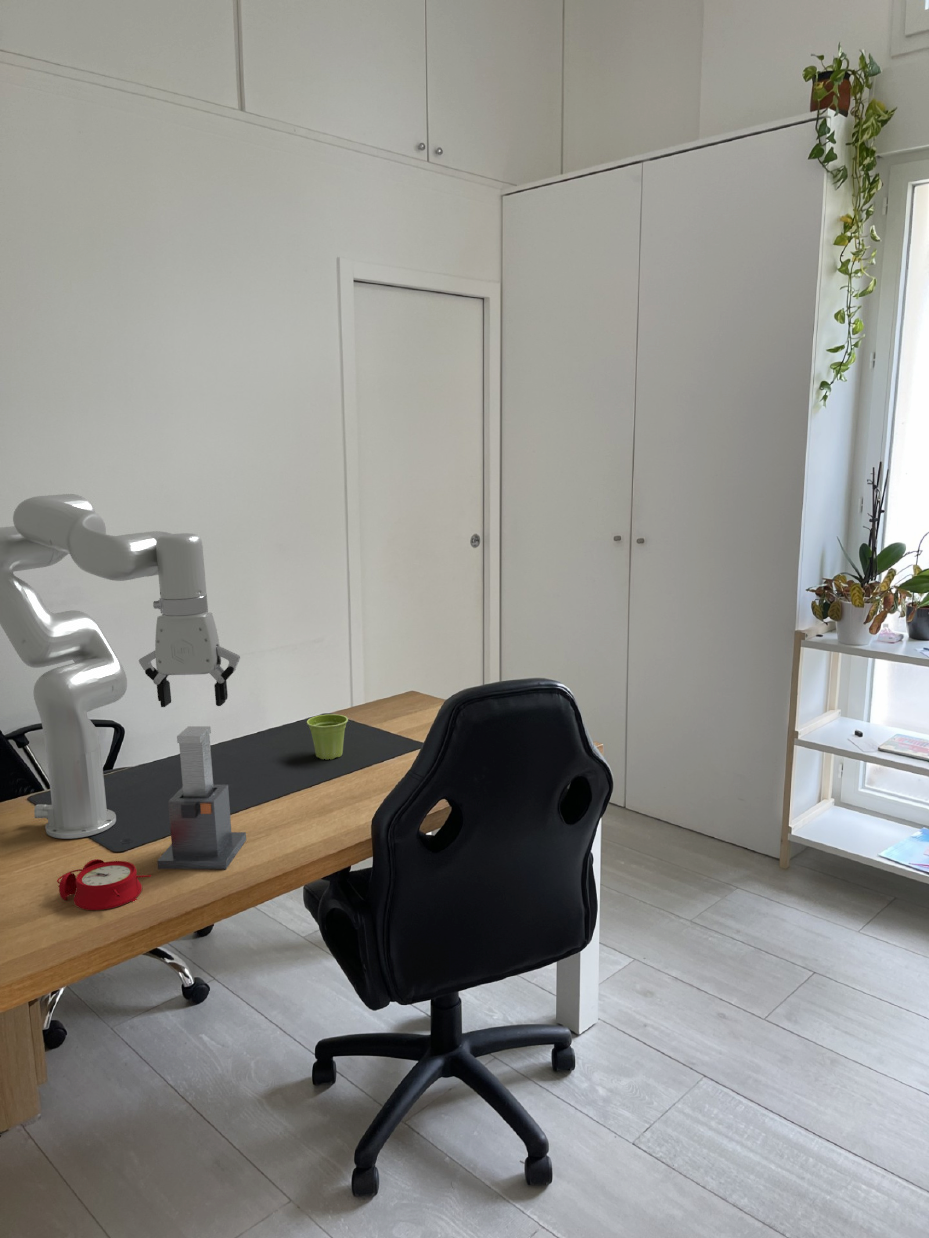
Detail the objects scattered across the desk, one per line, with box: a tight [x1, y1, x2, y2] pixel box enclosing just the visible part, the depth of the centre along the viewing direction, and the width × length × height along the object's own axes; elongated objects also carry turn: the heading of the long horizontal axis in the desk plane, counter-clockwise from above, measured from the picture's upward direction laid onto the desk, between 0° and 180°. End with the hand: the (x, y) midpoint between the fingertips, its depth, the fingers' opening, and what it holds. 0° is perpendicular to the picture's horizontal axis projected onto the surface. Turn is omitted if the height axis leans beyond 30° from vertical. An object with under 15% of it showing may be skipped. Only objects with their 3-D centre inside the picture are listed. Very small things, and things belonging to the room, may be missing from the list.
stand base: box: [156, 784, 247, 870], centre depth 165 cm, size 12×12×12 cm
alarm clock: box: [56, 858, 152, 911], centre depth 152 cm, size 10×6×15 cm
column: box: [176, 725, 214, 798], centre depth 164 cm, size 4×6×21 cm
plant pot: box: [306, 713, 349, 760], centre depth 217 cm, size 9×9×9 cm
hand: (193, 704), depth 161 cm, fingers open, 9 cm apart
